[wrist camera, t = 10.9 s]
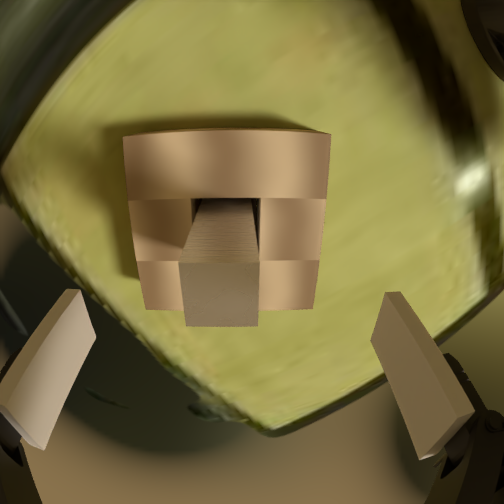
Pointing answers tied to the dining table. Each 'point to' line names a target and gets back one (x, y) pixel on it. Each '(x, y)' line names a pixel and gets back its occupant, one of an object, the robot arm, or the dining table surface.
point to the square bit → (221, 265)
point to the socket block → (229, 186)
